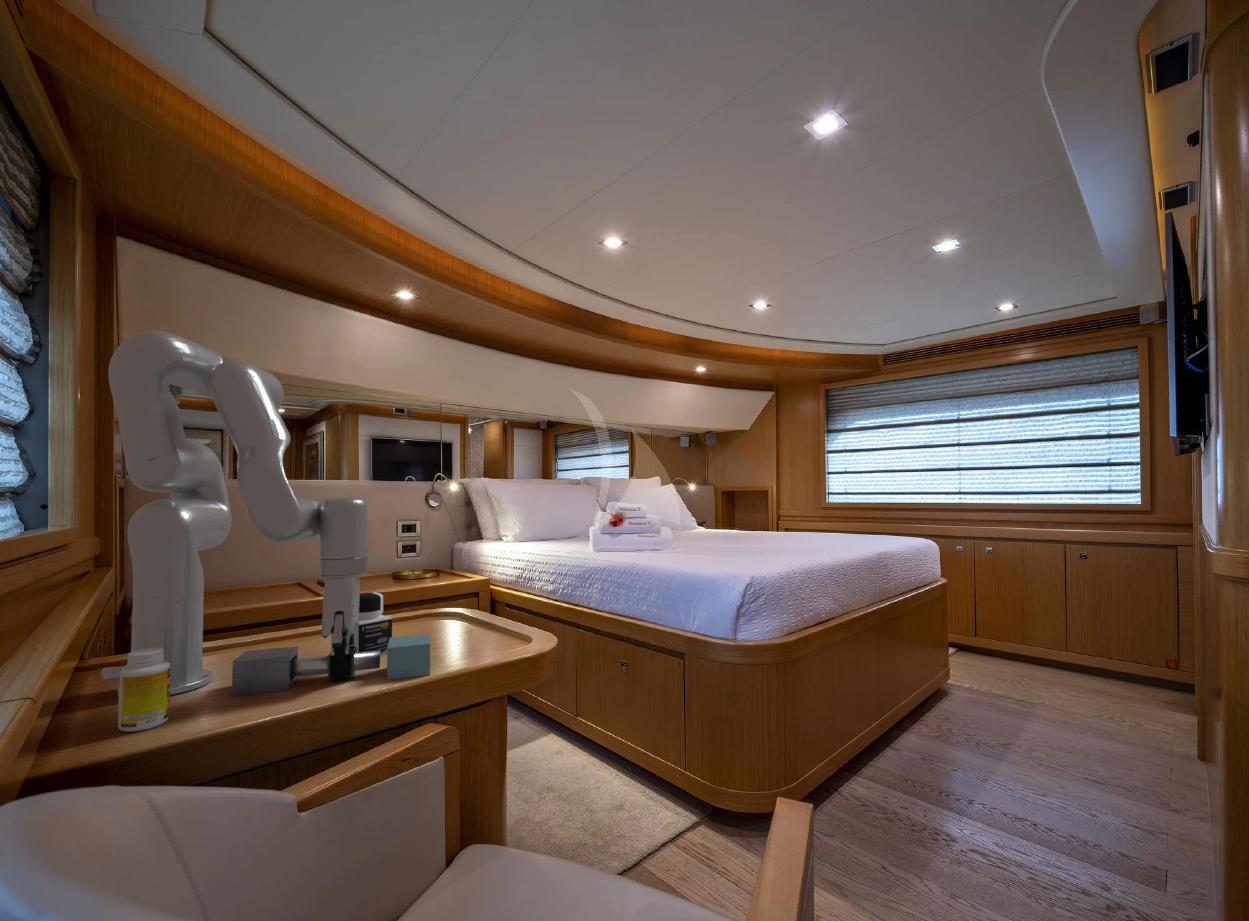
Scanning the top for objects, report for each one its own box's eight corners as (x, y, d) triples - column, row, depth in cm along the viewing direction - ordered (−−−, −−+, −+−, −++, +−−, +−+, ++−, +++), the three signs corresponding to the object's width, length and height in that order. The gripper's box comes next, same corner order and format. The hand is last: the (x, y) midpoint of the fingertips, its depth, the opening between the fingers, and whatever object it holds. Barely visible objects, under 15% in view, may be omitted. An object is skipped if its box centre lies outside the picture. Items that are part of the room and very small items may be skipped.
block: (387, 679, 100) (387, 647, 100) (389, 667, 107) (389, 637, 108) (430, 675, 102) (430, 643, 102) (429, 663, 110) (429, 633, 110)
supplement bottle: (175, 723, 82) (177, 649, 83) (124, 736, 78) (127, 658, 78) (161, 715, 85) (163, 644, 86) (112, 727, 81) (114, 652, 81)
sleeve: (231, 696, 93) (232, 661, 93) (244, 683, 100) (245, 650, 100) (288, 690, 96) (289, 656, 96) (297, 677, 102) (298, 646, 102)
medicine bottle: (358, 660, 112) (359, 597, 113) (340, 655, 116) (340, 594, 117) (392, 652, 118) (393, 592, 119) (373, 647, 122) (374, 589, 123)
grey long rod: (231, 690, 94) (232, 664, 94) (239, 682, 98) (240, 657, 98) (378, 674, 101) (379, 650, 101) (380, 667, 105) (380, 644, 106)
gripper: (327, 564, 109) (326, 663, 108) (310, 575, 93) (309, 691, 92) (371, 561, 112) (370, 659, 111) (361, 572, 96) (360, 686, 95)
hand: (342, 672), depth 101 cm, fingers closed on grey long rod, 4 cm apart
